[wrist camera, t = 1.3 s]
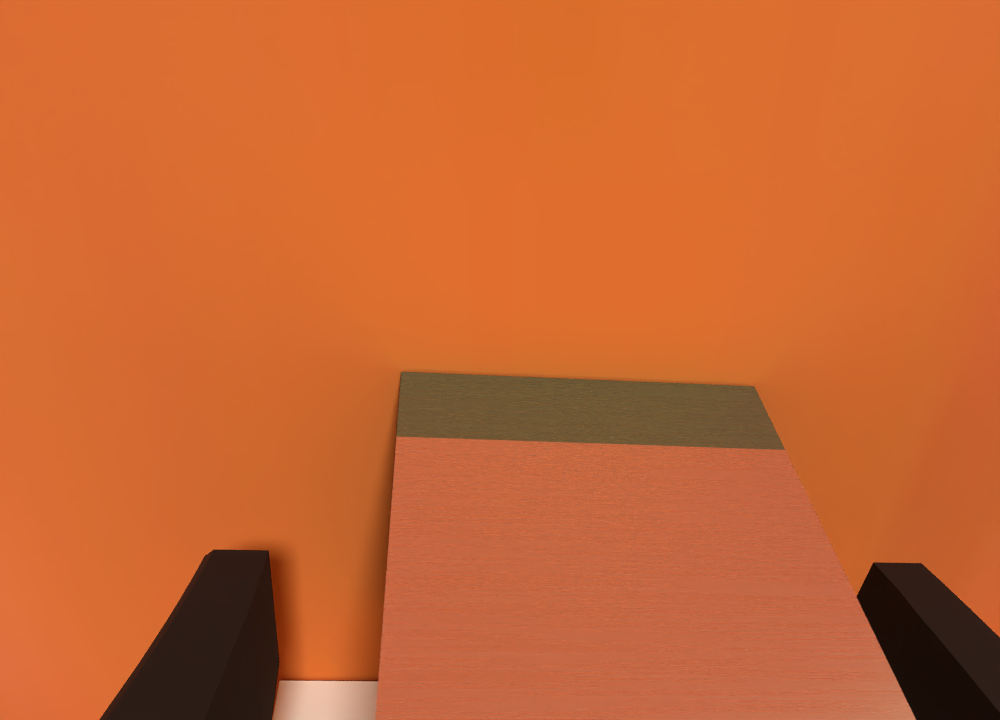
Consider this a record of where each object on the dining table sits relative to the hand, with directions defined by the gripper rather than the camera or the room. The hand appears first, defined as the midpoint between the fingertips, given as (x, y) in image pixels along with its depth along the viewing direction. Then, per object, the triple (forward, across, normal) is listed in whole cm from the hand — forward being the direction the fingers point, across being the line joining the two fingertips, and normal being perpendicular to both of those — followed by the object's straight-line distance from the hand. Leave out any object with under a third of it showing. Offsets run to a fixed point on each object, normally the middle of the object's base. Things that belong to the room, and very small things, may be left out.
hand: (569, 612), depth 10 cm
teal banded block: (+2, 0, 0) cm, 2 cm away
